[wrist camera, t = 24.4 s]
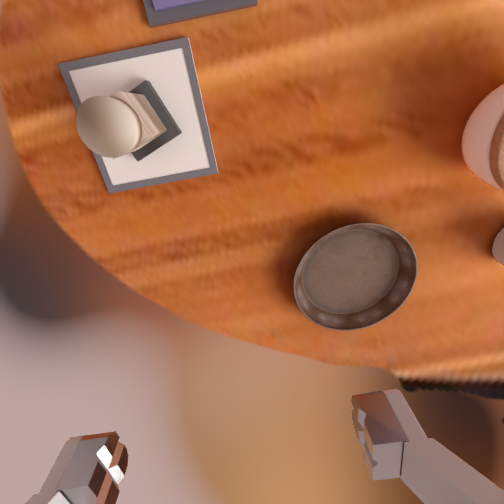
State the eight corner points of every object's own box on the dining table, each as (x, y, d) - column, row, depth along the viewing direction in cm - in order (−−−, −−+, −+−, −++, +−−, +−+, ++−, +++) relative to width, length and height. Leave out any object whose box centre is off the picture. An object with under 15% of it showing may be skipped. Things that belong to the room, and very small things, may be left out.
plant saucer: (389, 193, 39) (400, 200, 36) (419, 291, 46) (431, 302, 43) (270, 250, 42) (272, 260, 39) (316, 333, 49) (320, 346, 47)
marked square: (188, 38, 31) (187, 36, 30) (218, 172, 37) (218, 173, 36) (60, 64, 31) (57, 63, 31) (110, 192, 37) (109, 193, 37)
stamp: (149, 81, 32) (108, 68, 22) (182, 132, 34) (158, 142, 24) (106, 112, 33) (49, 113, 23) (141, 159, 35) (103, 179, 25)
